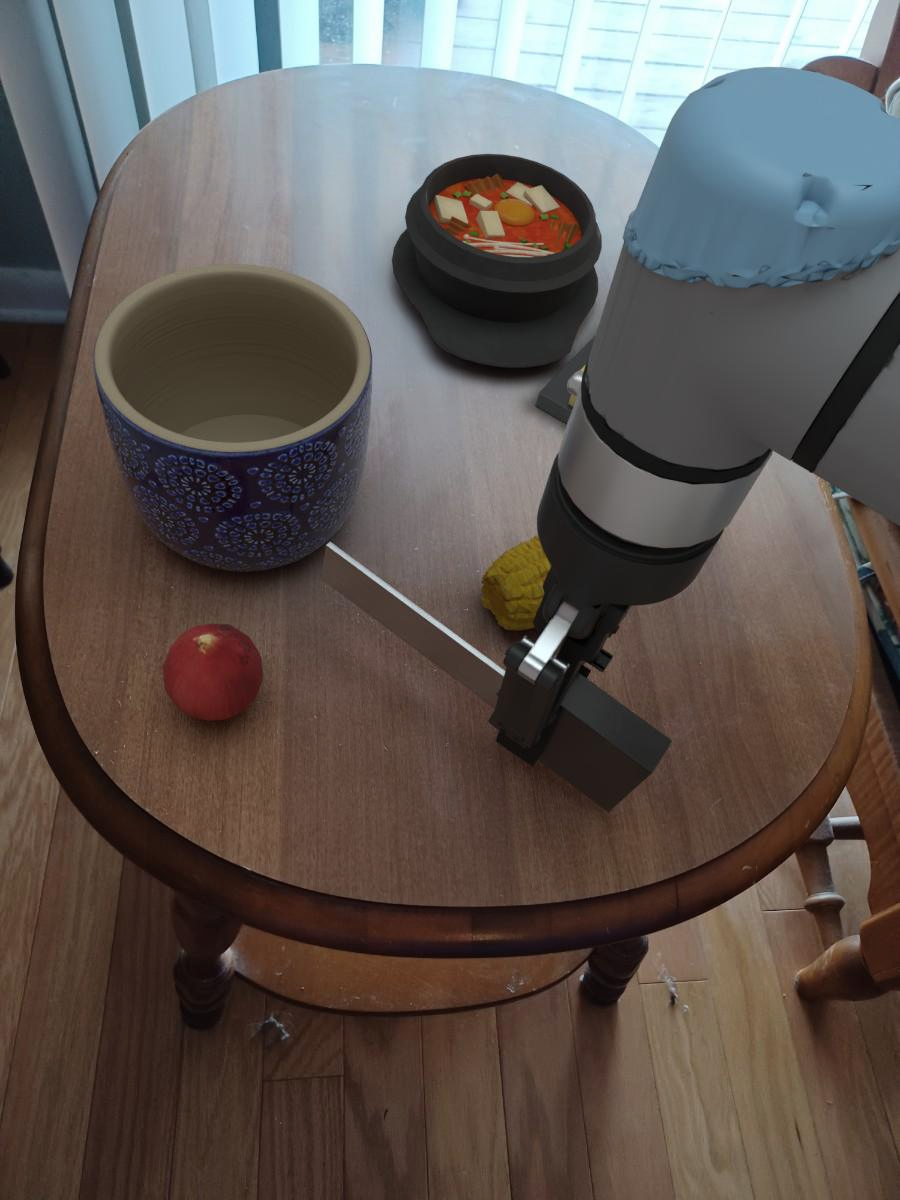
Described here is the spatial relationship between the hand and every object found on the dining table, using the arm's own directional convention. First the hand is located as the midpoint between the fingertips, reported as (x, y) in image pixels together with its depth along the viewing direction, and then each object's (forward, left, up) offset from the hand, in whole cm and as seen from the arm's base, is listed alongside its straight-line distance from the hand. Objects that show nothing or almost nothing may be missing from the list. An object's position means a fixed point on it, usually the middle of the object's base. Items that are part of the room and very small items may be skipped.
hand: (530, 730), depth 58 cm
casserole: (+27, -37, -4) cm, 46 cm away
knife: (+5, 0, 0) cm, 5 cm away
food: (+3, -16, -4) cm, 17 cm away
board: (+11, -34, -3) cm, 36 cm away
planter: (+26, -4, -4) cm, 27 cm away
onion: (+17, +9, -4) cm, 20 cm away
